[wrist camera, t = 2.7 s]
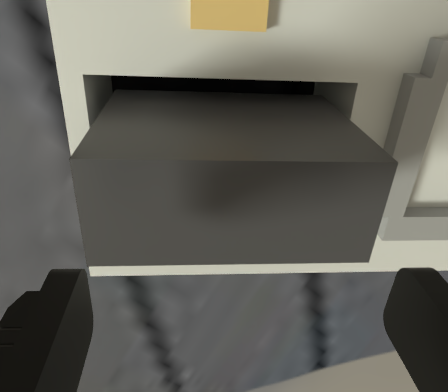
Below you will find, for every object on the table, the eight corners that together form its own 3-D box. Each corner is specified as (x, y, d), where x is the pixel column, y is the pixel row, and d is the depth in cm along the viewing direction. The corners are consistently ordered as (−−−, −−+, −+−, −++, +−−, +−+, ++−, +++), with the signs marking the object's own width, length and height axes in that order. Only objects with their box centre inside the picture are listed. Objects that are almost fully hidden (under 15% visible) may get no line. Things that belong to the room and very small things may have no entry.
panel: (77, -58, 19) (6, -81, 11) (660, -23, 22) (899, -23, 14) (109, 217, 27) (79, 308, 19) (534, 216, 30) (647, 294, 22)
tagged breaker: (115, 89, 18) (69, 159, 11) (322, 95, 19) (398, 162, 12) (122, 166, 20) (87, 266, 13) (309, 168, 21) (368, 262, 14)
